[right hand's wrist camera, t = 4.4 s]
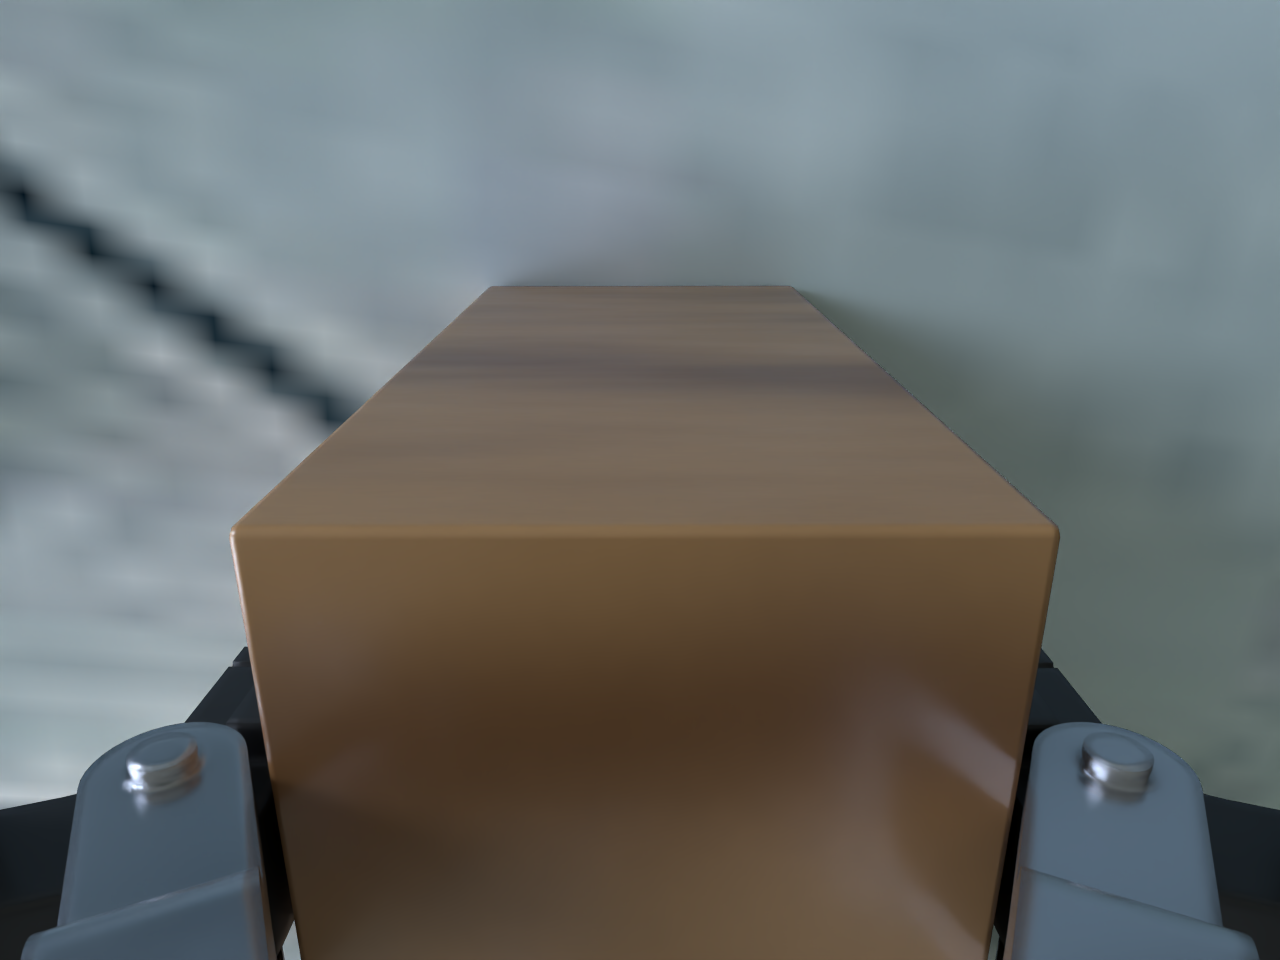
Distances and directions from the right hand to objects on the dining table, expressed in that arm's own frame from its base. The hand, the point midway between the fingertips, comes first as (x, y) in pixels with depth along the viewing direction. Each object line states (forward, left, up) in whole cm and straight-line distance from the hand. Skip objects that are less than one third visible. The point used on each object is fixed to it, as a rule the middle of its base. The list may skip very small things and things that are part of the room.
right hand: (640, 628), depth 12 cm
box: (+11, 0, -8) cm, 13 cm away
